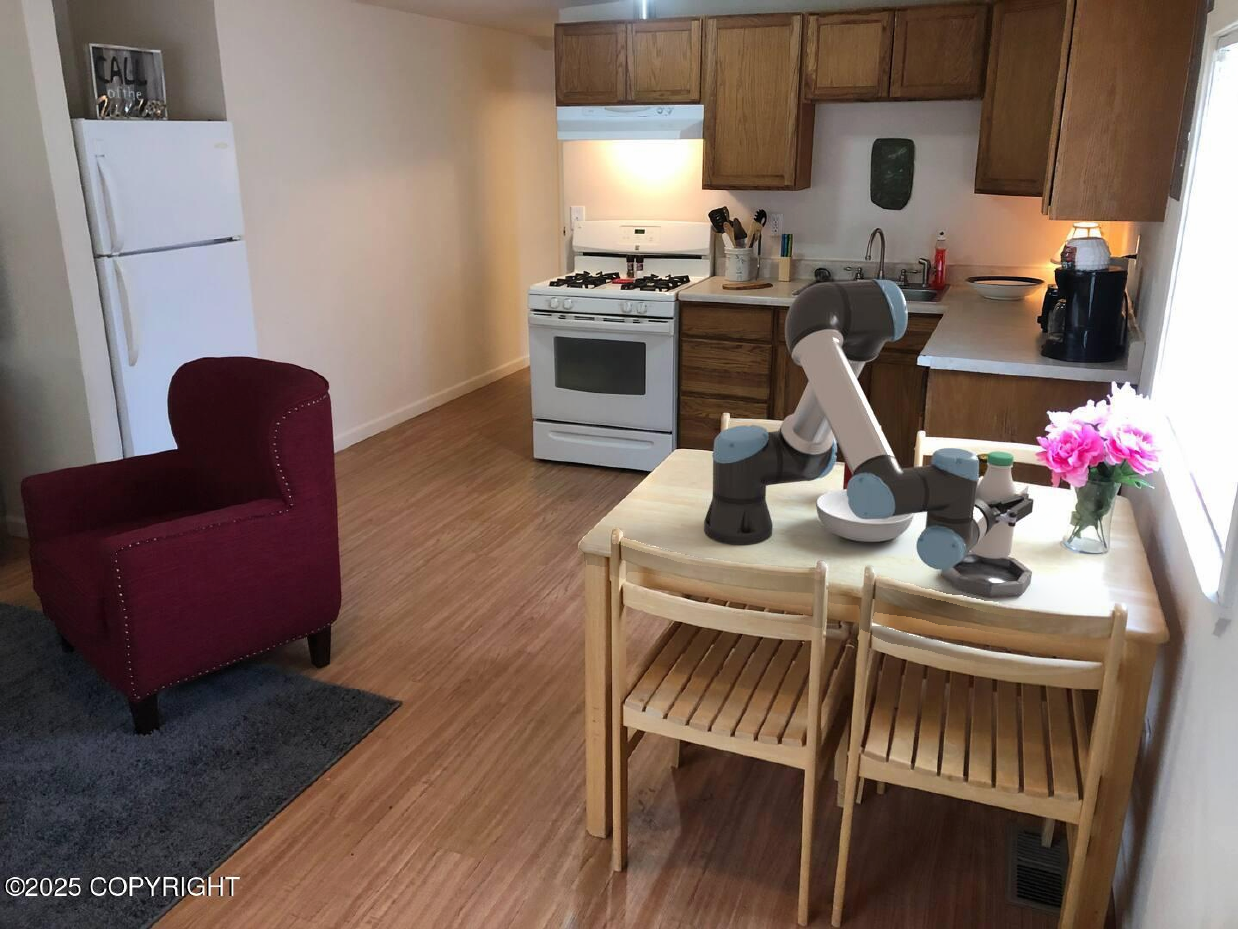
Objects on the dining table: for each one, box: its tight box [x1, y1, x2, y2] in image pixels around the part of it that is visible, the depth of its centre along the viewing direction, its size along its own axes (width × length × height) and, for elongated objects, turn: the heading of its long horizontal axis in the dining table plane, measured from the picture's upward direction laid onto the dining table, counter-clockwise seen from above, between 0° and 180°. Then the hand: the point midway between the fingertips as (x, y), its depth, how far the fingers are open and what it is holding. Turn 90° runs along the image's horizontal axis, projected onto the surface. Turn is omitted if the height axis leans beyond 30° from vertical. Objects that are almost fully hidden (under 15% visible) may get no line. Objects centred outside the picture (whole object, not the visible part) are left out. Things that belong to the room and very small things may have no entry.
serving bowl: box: [815, 489, 915, 543], centre depth 210 cm, size 21×21×7 cm
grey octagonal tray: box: [940, 551, 1033, 599], centre depth 189 cm, size 15×15×2 cm
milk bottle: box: [970, 451, 1017, 559], centre depth 184 cm, size 8×8×20 cm
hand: (1003, 486), depth 187 cm, fingers closed on milk bottle, 7 cm apart
